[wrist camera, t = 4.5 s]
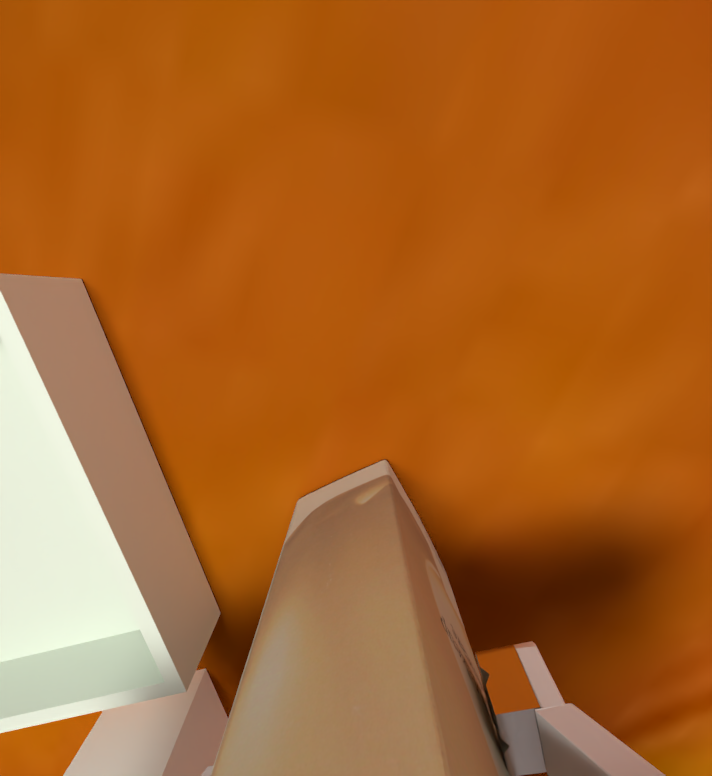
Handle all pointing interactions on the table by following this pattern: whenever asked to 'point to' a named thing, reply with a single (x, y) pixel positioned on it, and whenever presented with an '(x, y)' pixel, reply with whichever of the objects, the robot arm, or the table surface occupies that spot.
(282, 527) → the table surface
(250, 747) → the skincare box
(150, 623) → the tray
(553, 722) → the robot arm
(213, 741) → the cream cube
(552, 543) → the table surface
